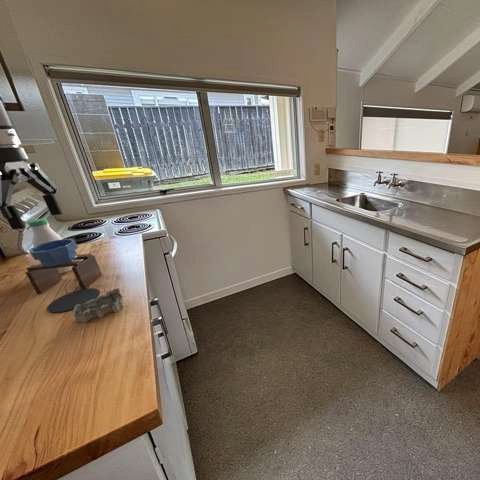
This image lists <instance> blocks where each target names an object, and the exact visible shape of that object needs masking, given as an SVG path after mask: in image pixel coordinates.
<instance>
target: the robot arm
mask: <svg viewBox="0 0 480 480" xmlns="http://www.w3.org/2000/svg"><path fill="white" fill-rule="evenodd" d="M21 144H22V143H21V141H20V139H19V136H18V135H17V132H16V131H15V128H14V126H13V124H12V122H11V121H10V118H9V116H8V113H7V111H6V109H5V106H4V104H3V101H2V100H1V99H0V213H1V215H2V217H3V218H4V219H6V220H7V222H8V224H9V226H10V228H11V229H12V230H21V229H23V230H24V229H26V228H27V227H26V224H24V221H23V219H22V218H21V215H20V214H19V212H18V210H17V209H16V207H15V205H14V204H12V205H11V201H12V198H13V194H14V189H15V185H18V183H21V182H26V183H27V184H29V185H30V186H32V187H33V188H34V189H36V190H38V191H39V192H41V193H42V194H43V195H42V199H43V201H44V203H45V205H46V207H47V210H48V211H49V213H50V215H51V216H57V215H58V216H59V215H63V212H62V209H61V208H60V205H59V202H58V199H57V197H56V195H57V194H58V193H59V192H58V191H59V188H58V186H57V185H56V184H55V183H54V182H53V181H52V180H51V179H50V177H49V176H48V175H46V174H45V172H44V171H43V170H42V169H41V167H40V165H39V164H38V163H37V162H27V161H28V160H29V157H28V155H27V153H26V151H25V148H23V147H22V146H20V145H21Z"/></svg>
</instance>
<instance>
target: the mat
mask: <svg viewBox="0 0 480 480" xmlns="http://www.w3.org/2000/svg"><path fill="white" fill-rule="evenodd" d="M99 295H100V289H98V288H95V287H94V288H93V287H92V288H91V287H87V288H86V289H77V290H75V291H71V292H68V293H66V294H64V295H61V296H60V297H57V298H56V299H55V300H53V301H51V302H50V303H49V304H48V306H47V308H46V309H47V312H49V313H51V314H52V313H53V314H58V313H67V312H70V311H73V309H74V307H75V305H78V304H81V305H82V304H83V303H86V302H87V301H90V300H92V299H96V298H98V297H99Z"/></svg>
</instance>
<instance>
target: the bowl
mask: <svg viewBox="0 0 480 480" xmlns="http://www.w3.org/2000/svg"><path fill="white" fill-rule="evenodd" d="M78 248H79V246H78V245H77V241H76V240H74V239H73V238H62V240H55V241H51V242H47V243H43V244H40V245H38V246H35V247H34V246H33V247H31V248H29V249H28V251H29V253H30V255H31V257H32V258H33V259H34V261H39V263H40V264H42V266H44V267H50V266H57V265H61V264H64V263H67V262H70V261H72V260H73V261H75V260H74V259H75V258H76V257H77V255H78V254H77V251H76V250H77V249H78Z"/></svg>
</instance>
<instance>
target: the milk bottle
mask: <svg viewBox="0 0 480 480" xmlns="http://www.w3.org/2000/svg"><path fill="white" fill-rule="evenodd" d="M27 223H28V225H29V227H30V229H31V230H32V246H33V247H35V246H38V245H40V244H43V243H47V242H51V241H55V240H62V239H63V238H62V237H61V236H60V235H59V234H58V233H57V232H55V231H54V230H53V229H52V228H51V226H50V223H49V221H48V219H47V218H37V219H32V220H29V221H28V222H27ZM72 261H74V260H72ZM72 267H73V266H71V267H61V268H57V269H58V271H59V273H60V275H62V274H65V273H68V272H70V271H73V270H72Z"/></svg>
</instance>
